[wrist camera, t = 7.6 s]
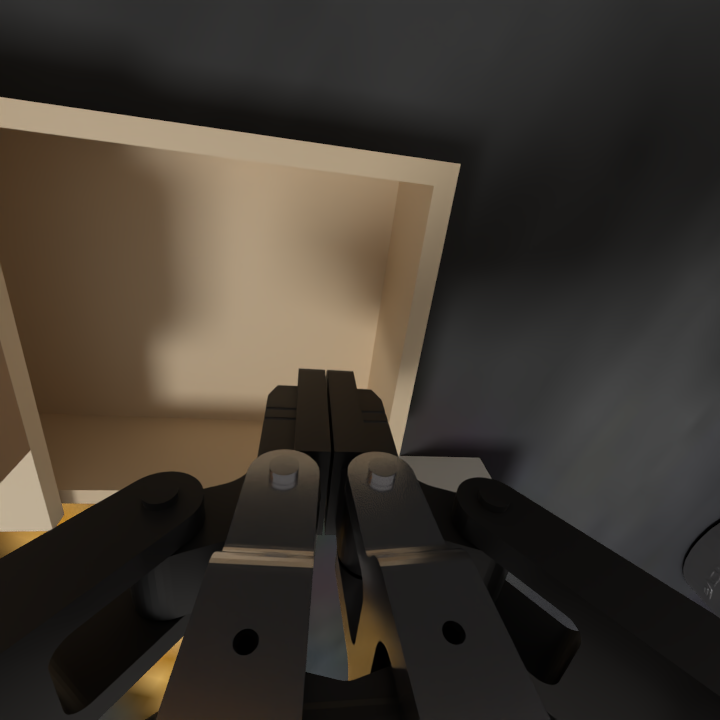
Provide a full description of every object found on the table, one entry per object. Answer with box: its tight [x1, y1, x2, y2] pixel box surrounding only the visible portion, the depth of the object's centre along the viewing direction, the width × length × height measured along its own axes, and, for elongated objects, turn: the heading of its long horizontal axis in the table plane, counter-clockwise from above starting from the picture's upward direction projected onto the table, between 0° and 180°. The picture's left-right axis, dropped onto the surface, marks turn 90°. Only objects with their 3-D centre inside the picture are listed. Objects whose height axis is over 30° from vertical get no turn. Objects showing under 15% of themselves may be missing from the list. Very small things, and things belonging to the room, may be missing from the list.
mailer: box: [0, 97, 461, 503], centre depth 14 cm, size 18×12×5 cm, turn 83°
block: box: [399, 456, 492, 492], centre depth 21 cm, size 4×4×5 cm
